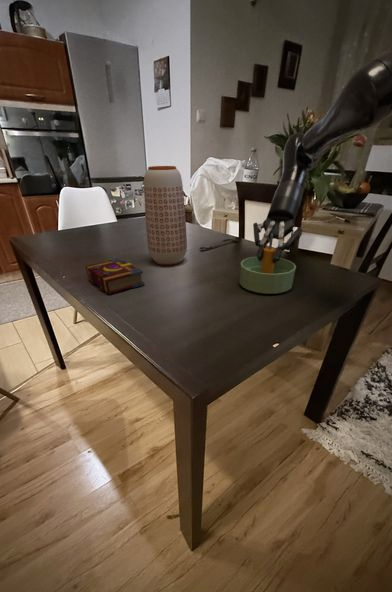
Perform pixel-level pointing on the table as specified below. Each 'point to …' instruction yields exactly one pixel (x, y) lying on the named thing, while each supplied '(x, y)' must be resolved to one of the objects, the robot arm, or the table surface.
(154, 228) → the patterned ceramic vase
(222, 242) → the tomahawk
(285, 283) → the green round bowl
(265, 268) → the screwdriver
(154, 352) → the table surface
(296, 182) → the robot arm
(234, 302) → the table surface
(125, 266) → the decorative book
